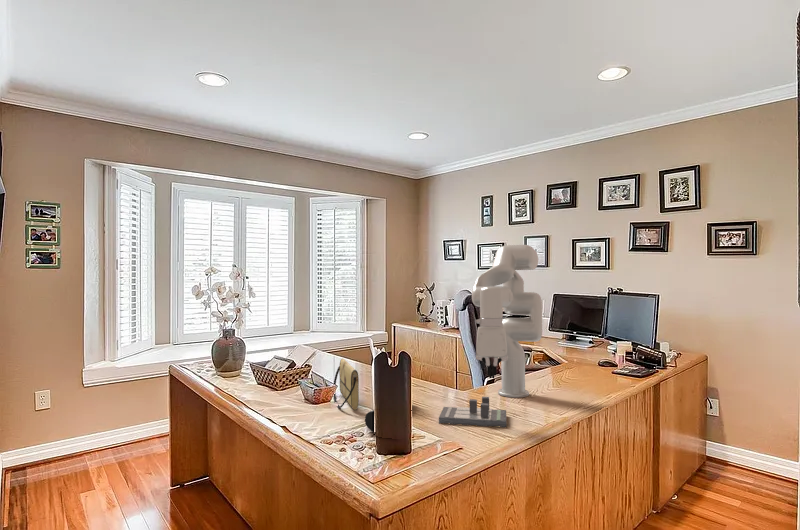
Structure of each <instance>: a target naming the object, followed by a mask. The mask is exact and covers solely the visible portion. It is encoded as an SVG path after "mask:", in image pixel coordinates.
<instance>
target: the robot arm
mask: <svg viewBox="0 0 800 530" xmlns="http://www.w3.org/2000/svg"><path fill="white" fill-rule="evenodd" d="M537 252H538V251H536V249H534V248H533V247H532V246H530V245H528V244H506V245H502V246H500V247H499V248H497V250H496V252H495V256H494V260H493V262H492V266H491V267H490V268H489V269H487V270H485V271H484V272H483V273H481V274H480V275H479V276H478V277H477V278H476V279H475V282H474V285H473V288H472V290H471V291H472V292H471V293H472V294H471V302H472V303H473V305H474V306H475V307H478V308H479V313H480V316H479V317H480V318H478V319H475V324H478V325H479V326H478V327H477V331H476V341H475V342H476V346H475V351H476V352H475V353H476V355H475V359H476V360H478V361H481V362H483V363H484V364H485V365H486V366H487V368H486V370H487V371H486V373H487V374H486V375H487V376H488V377H489V379H495V376H497V366H498V365H499V364H500V363H501V388H499V389H498V390H497V393H498V395H500V396H502V397H507V398H517V399H519V398H525V397H528V396H530V391H529V390H527V389H526V357H525V356H526V353H525V351H524V347H523V346H522V345H521V344H520V342H529V343H532V342H533V343H534V342H535V343H537V342H540V341H541V339H542V338H543V337H542V336H543V299H542V297H541V295H540V294H539V293H537V292H534V291H533V292H532V291H531V292H528V291H527V292H525V290H524V288H525V280H524V279H523V277H522V275H520V274H519V272H518V271H531V270H532V271H533V270H535V269H536V268H537V267H538V264H539V254H538V253H537ZM500 285H502V286H500ZM503 312H504V313H505V314H506V315H513V316H529V317H530V318H528V317H527V318H525V317H506V318H503V314H504V313H503ZM490 358H493V363H491V360H490Z"/></svg>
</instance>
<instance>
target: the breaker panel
mask: <svg viewBox="0 0 800 530" xmlns="http://www.w3.org/2000/svg"><path fill="white" fill-rule="evenodd" d="M440 423H450V424H449V425H456V424H462V426H472V425H477V427H478V426H479V427H489V426H500V427H499V428H505V427H507V410H506V409H492V408H489V410H488V418H486V417H481V407H477V413H470V407H468V406H467V407H465V406H464V407H463V406H462V407H461V406H457V407H452V406H443V408H442V410H441V412H440V415H439V416H438V424H440Z"/></svg>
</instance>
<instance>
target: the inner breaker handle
mask: <svg viewBox="0 0 800 530" xmlns="http://www.w3.org/2000/svg"><path fill="white" fill-rule="evenodd" d="M481 403H487V404H488V410H489V409H490V396H482V397H481Z"/></svg>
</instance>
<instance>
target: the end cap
mask: <svg viewBox="0 0 800 530" xmlns="http://www.w3.org/2000/svg"><path fill="white" fill-rule="evenodd" d="M374 410H375V409H373V410H371V411H368V412H367V413H366V415H365V416H364V423H365V426H366V427H367V429H368V430H369V431H371V433H374ZM374 434H375V433H374Z"/></svg>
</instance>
